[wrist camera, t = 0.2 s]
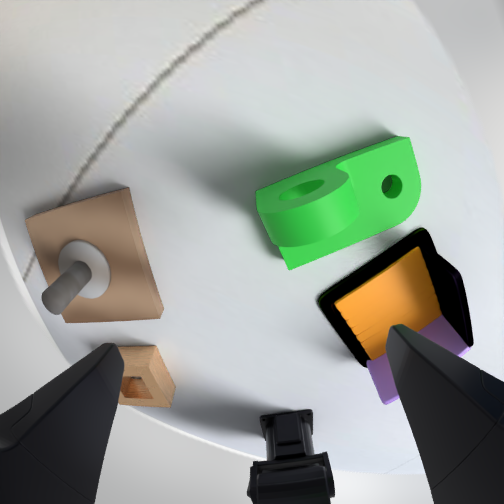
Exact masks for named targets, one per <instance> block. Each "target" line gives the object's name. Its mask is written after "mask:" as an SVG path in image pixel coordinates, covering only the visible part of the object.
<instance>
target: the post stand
mask: <svg viewBox="0 0 504 504" xmlns="http://www.w3.org/2000/svg"><path fill="white" fill-rule="evenodd" d="M25 222H26V226H27V229H28V232H29V235H30V238H31V241H32V244H33V247H34V250H35V253H36V256H37V258H38V261H39V264H40V266H41V269H42V271H43V274H44V276H45V279H46V281H47V284H48V286H49V287H48V288H47V289H46V290H45V291H44V292H43V293H42V302H43V304H44V306H45V307H46V309H47V310H48V311H50V312H51V313H53V314H55V315H59V314H62V316H63V318H64V320H65V322H66V323H88V322H113V321H131V320H147V319H160V317H161V315H162V313H163V310H164V307H163V304H162V301H161V298H160V295H159V292H158V289H157V286H156V283H155V280H154V277H153V274H152V271H151V268H150V264H149V261H148V258H147V254H146V251H145V247H144V244H143V241H142V237H141V233H140V230H139V226H138V222H137V218H136V215H135V211H134V207H133V203H132V199H131V194H130V190H129V187H128V188H124V189H120V190H117V191H113V192H109V193H105V194H101V195H98V196H94V197H90V198H87V199H83V200H80V201H77V202H73V203H70V204H67V205H63V206H60V207H57V208H54V209H51V210H48V211H45V212H42V213H39V214H36V215H33V216H31V217H29V218H28V219H26V220H25Z"/></svg>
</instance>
